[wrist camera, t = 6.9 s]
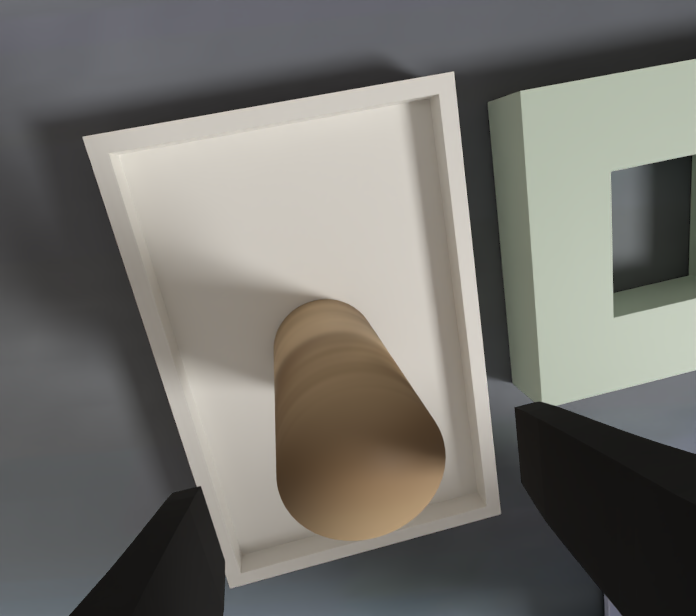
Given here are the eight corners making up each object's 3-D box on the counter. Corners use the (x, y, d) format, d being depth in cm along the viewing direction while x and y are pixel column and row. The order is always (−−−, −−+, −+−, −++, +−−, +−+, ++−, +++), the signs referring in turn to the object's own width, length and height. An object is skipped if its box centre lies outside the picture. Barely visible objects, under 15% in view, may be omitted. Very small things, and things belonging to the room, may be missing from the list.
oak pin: (381, 382, 19) (454, 517, 12) (285, 404, 19) (295, 559, 11) (366, 289, 18) (435, 371, 11) (262, 311, 18) (258, 413, 10)
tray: (481, 485, 23) (501, 514, 21) (233, 552, 22) (230, 588, 20) (434, 82, 18) (453, 71, 16) (104, 141, 16) (82, 136, 14)
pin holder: (746, 325, 23) (802, 342, 20) (512, 383, 21) (542, 409, 19) (765, 51, 19) (835, 33, 17) (487, 102, 18) (520, 90, 16)
